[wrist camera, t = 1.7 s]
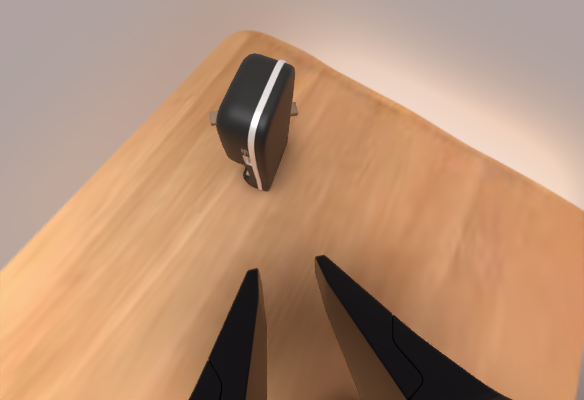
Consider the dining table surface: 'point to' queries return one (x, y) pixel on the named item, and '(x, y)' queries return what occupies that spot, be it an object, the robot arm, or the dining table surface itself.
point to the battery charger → (257, 117)
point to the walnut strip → (214, 113)
